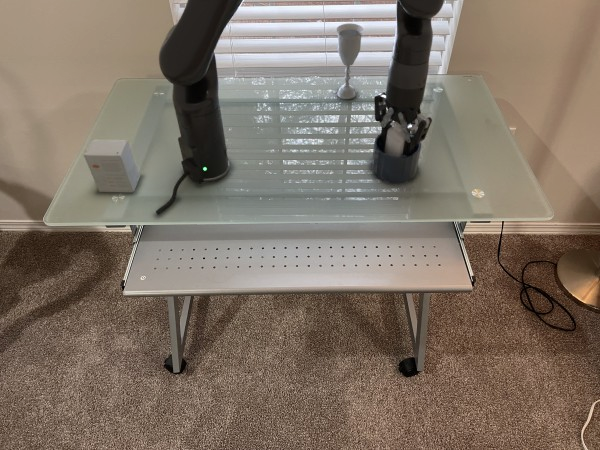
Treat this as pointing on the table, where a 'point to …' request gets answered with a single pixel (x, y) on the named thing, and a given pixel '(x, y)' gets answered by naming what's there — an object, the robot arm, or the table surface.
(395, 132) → the eye dropper bottle
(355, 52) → the chalice
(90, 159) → the small box
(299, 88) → the table surface
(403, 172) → the dark blue round container
